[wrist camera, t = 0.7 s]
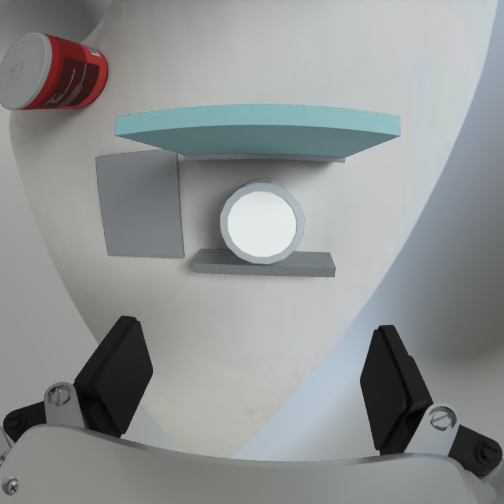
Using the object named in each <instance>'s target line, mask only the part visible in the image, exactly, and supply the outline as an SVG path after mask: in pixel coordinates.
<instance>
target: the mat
mask: <svg viewBox="0 0 504 504" xmlns="http://www.w3.org/2000/svg"><path fill="white" fill-rule="evenodd" d="M96 169H97V180H98V190H99V198H100V206H101V214H102V220H103V227H104V233H105V239H106V245H107V250H108V255H114V256H137V257H162V258H184V257H185V255H184V244H183V233H182V220H181V207H180V191H179V173H178V153H175V152H172V151H169V150H165V149H163V150H151V151H141V152H131V153H122V154H114V155H107V156H99V157H96Z"/></svg>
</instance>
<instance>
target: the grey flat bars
mask: <svg viewBox="0 0 504 504" xmlns="http://www.w3.org/2000/svg"><path fill="white" fill-rule="evenodd" d="M213 159H280V160H307V161H325V162H340V163H345V157H333V156H318V155H297V154H200V155H185V160H213ZM192 269H193V272H197V273H219V274H244V275H273V276H308V277H335V269H336V267H335V265H334V262H333V260H332V257H331V255H330V253H325V252H292V253H291V254H290V255H289V256H287V257H286V258H285V259H283V260H280V261H277V262H274V263H271V264H259V263H251V262H249V261H247V260H244V259H242V258H240V257H238V256H237V255H236V254H235V253H234V252H233V251H232V250H226V249H201V250H200V251H199V253H198V254H197V256H196V258H195V259H194V261H193V262H192Z"/></svg>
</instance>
